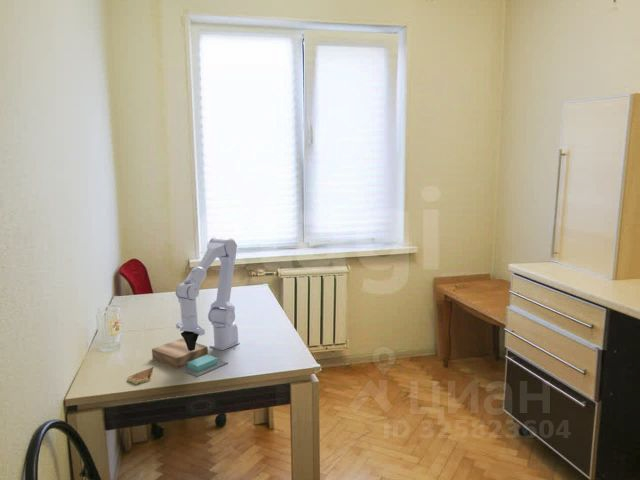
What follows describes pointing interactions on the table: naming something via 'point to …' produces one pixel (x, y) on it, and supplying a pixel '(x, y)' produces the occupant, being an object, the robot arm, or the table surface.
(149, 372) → the shard
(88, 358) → the table surface
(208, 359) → the aqua rectangular block
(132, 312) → the table surface
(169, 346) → the brown wooden flat block
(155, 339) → the table surface
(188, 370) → the grey flat slab
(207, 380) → the table surface
